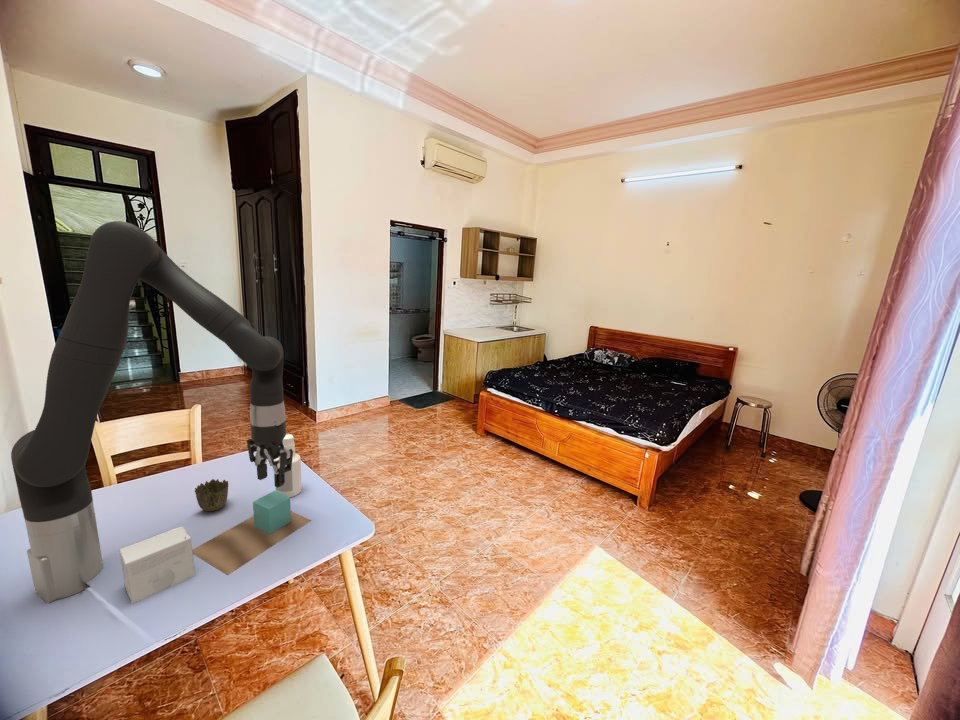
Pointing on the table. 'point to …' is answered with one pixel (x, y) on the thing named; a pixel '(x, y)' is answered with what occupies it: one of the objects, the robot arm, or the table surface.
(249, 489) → the table surface
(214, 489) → the bronze textured bowl
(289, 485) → the spray bottle
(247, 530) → the board
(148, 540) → the skincare box
